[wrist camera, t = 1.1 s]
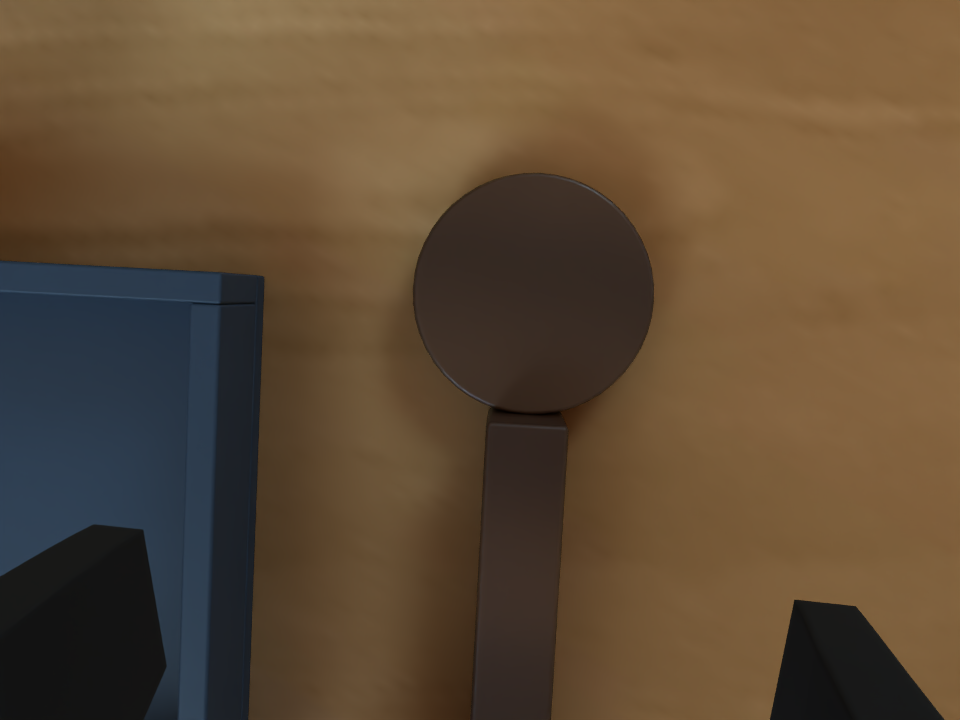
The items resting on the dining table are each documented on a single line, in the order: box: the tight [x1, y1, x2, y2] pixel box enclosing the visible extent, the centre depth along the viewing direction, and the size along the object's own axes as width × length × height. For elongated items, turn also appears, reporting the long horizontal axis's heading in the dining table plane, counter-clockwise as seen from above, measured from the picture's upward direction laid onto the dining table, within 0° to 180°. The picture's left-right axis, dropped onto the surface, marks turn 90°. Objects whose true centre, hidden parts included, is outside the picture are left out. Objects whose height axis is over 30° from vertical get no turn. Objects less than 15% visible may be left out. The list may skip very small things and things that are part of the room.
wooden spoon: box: [413, 173, 654, 720], centre depth 19 cm, size 17×5×3 cm, turn 177°
